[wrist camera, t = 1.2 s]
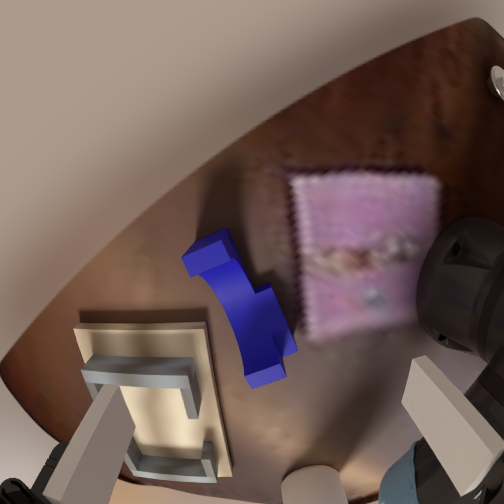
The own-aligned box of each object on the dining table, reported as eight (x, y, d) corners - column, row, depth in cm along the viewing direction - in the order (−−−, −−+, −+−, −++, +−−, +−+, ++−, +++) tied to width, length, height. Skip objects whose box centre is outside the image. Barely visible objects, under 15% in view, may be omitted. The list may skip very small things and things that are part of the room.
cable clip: (293, 335, 28) (304, 370, 22) (250, 351, 28) (252, 389, 22) (242, 220, 25) (242, 230, 19) (195, 241, 25) (181, 257, 19)
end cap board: (205, 321, 27) (199, 345, 22) (232, 468, 32) (232, 493, 28) (79, 322, 27) (59, 342, 22) (138, 463, 32) (131, 484, 28)
